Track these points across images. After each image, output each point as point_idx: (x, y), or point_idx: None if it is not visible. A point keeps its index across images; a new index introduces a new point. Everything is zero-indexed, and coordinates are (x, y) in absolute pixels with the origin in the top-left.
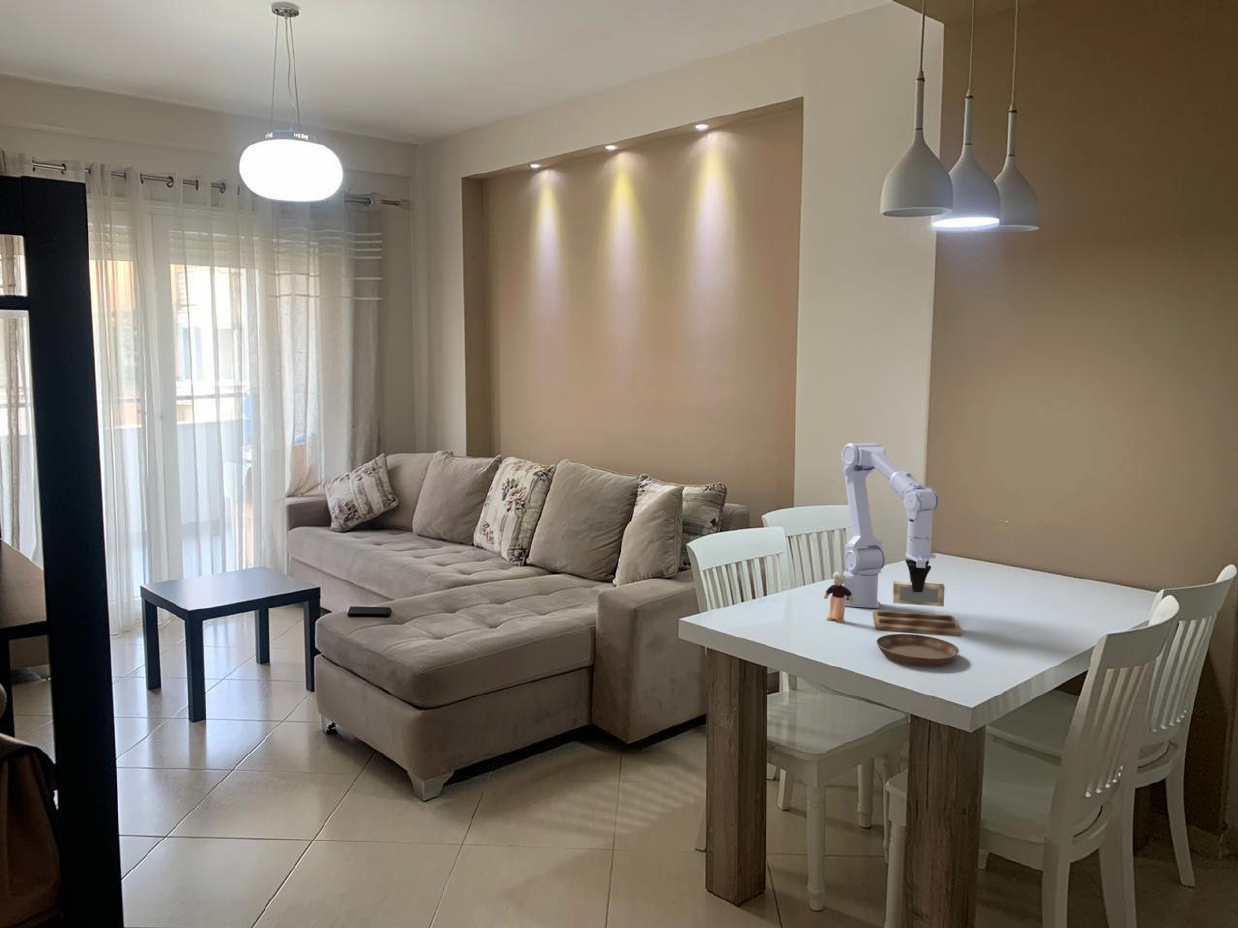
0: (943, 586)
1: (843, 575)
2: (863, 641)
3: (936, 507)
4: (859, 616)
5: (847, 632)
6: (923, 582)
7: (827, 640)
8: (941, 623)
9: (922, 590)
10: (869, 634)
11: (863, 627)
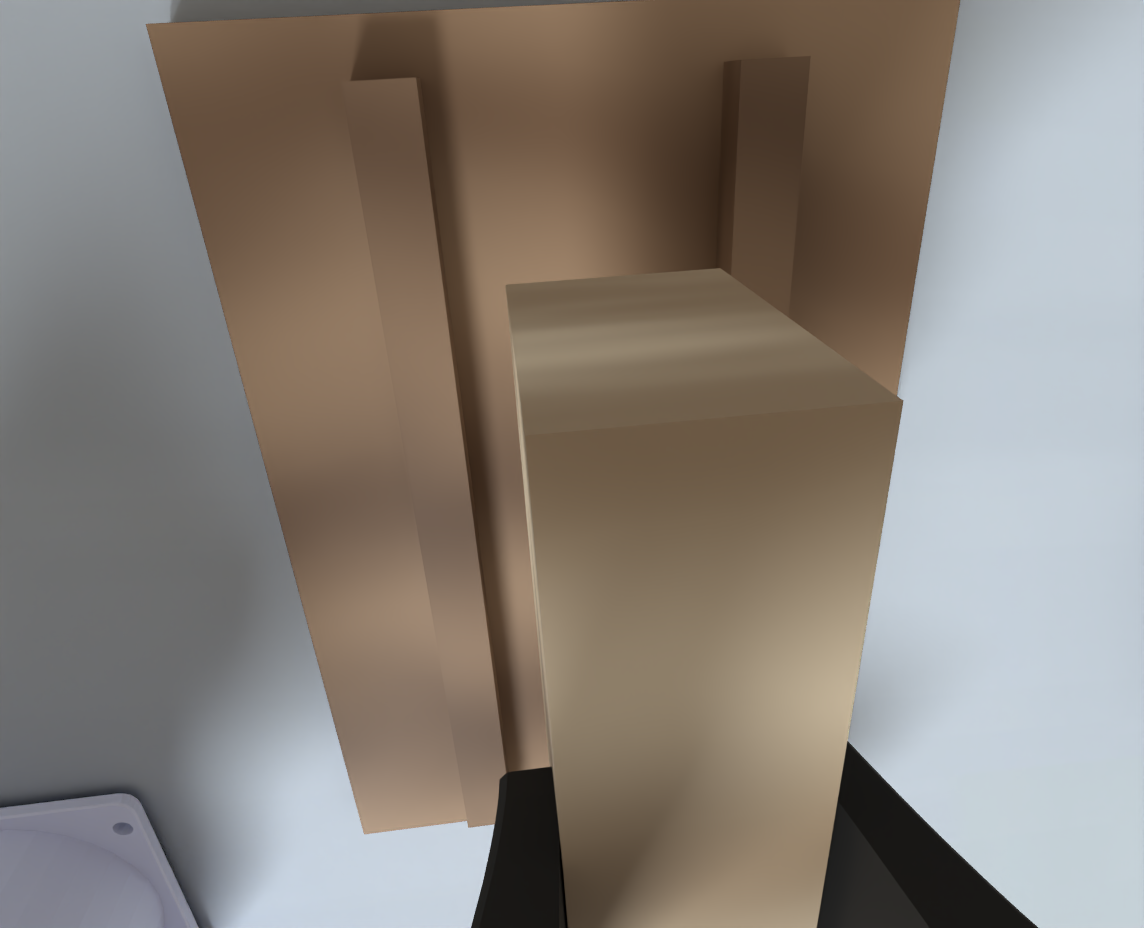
0: (857, 430)
1: None
2: (1106, 774)
3: None
4: (470, 864)
5: None
6: (1000, 910)
7: (1079, 916)
8: (792, 250)
9: (857, 752)
10: (944, 763)
11: None
